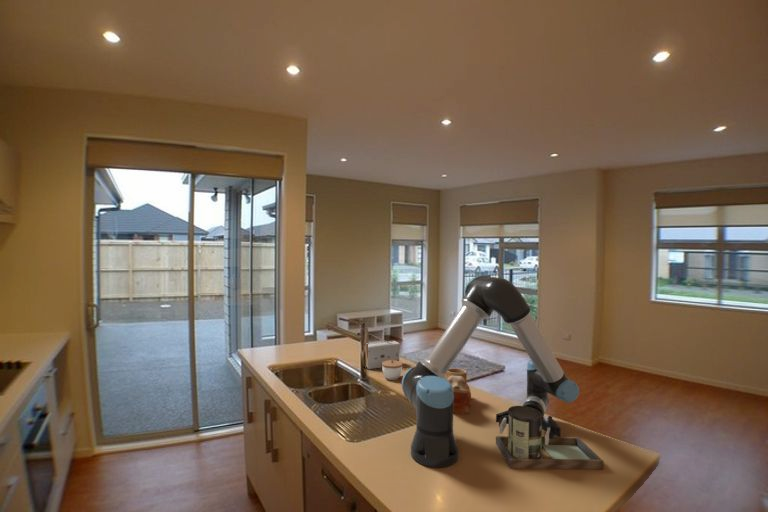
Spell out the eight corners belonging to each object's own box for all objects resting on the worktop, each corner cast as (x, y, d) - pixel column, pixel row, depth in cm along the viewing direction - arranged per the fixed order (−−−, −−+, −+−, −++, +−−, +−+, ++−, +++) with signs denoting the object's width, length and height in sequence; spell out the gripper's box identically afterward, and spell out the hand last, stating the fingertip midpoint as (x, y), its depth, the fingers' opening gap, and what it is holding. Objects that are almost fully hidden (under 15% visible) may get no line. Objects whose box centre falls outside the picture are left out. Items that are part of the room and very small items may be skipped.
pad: (559, 466, 113) (559, 465, 113) (541, 445, 126) (541, 444, 126) (597, 467, 113) (597, 466, 113) (576, 446, 126) (576, 445, 126)
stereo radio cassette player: (394, 362, 221) (394, 328, 220) (400, 366, 213) (401, 331, 213) (361, 366, 212) (362, 331, 211) (367, 370, 204) (367, 334, 204)
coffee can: (538, 449, 123) (538, 406, 123) (545, 466, 113) (545, 420, 113) (505, 445, 125) (506, 404, 125) (509, 462, 115) (510, 417, 115)
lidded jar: (383, 374, 198) (383, 356, 198) (403, 375, 197) (403, 357, 197) (380, 380, 188) (380, 362, 188) (401, 382, 186) (401, 363, 186)
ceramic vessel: (437, 417, 147) (437, 379, 147) (439, 392, 173) (439, 360, 173) (473, 420, 144) (473, 381, 144) (469, 395, 170) (470, 362, 170)
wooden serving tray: (510, 468, 112) (510, 460, 112) (495, 443, 127) (495, 436, 127) (603, 469, 112) (603, 461, 112) (577, 444, 127) (577, 437, 127)
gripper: (571, 429, 129) (567, 458, 110) (498, 413, 141) (483, 436, 123) (571, 407, 129) (567, 432, 110) (498, 393, 141) (483, 413, 123)
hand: (522, 434), depth 116 cm, fingers open, 13 cm apart
